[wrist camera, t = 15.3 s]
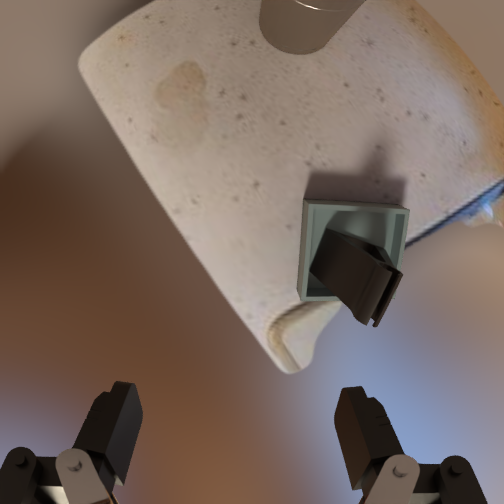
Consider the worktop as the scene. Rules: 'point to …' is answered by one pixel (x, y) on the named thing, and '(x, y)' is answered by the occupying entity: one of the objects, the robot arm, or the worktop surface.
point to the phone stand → (356, 274)
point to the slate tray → (352, 224)
